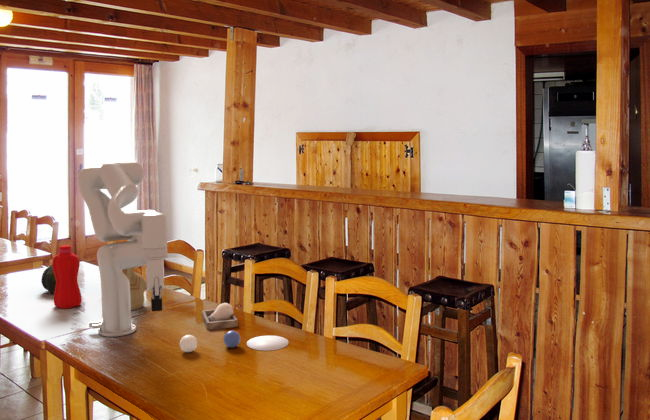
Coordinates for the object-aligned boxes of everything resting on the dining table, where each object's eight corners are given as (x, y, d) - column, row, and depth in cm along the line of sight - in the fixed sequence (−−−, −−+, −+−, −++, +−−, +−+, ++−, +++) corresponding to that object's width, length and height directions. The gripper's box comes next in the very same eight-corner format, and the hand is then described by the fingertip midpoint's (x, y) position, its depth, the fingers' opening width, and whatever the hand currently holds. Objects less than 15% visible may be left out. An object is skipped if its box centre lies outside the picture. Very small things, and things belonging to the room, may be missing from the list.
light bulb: (208, 313, 214) (232, 299, 220) (200, 312, 219) (224, 299, 226) (215, 329, 215) (239, 315, 221) (206, 328, 220) (230, 315, 227)
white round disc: (251, 352, 189) (251, 352, 189) (243, 338, 202) (243, 337, 202) (293, 347, 194) (293, 347, 194) (282, 334, 207) (282, 333, 207)
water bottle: (69, 300, 247) (66, 242, 244) (84, 305, 241) (82, 245, 238) (48, 305, 240) (45, 245, 237) (63, 310, 234) (60, 248, 230)
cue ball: (180, 355, 186) (180, 338, 186) (179, 349, 191) (178, 333, 191) (198, 353, 188) (197, 337, 187) (196, 347, 193) (196, 331, 193)
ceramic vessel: (141, 298, 251) (139, 240, 248) (154, 310, 234) (151, 248, 231) (99, 304, 242) (96, 244, 239) (109, 317, 226) (106, 252, 222)
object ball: (225, 350, 191) (224, 334, 190) (222, 345, 196) (222, 329, 195) (241, 348, 192) (241, 332, 192) (238, 343, 198) (238, 327, 197)
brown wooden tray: (207, 329, 211) (207, 323, 211) (201, 316, 226) (201, 310, 226) (237, 326, 215) (237, 320, 214) (230, 314, 230) (230, 307, 229)
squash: (30, 284, 252) (54, 257, 254) (39, 277, 267) (62, 252, 268) (58, 304, 255) (81, 278, 257) (65, 296, 270) (87, 271, 271)
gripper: (141, 249, 188) (143, 305, 191) (142, 258, 174) (145, 318, 177) (165, 247, 191) (167, 303, 193) (169, 256, 177) (171, 316, 179)
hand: (156, 310), depth 185 cm, fingers closed
